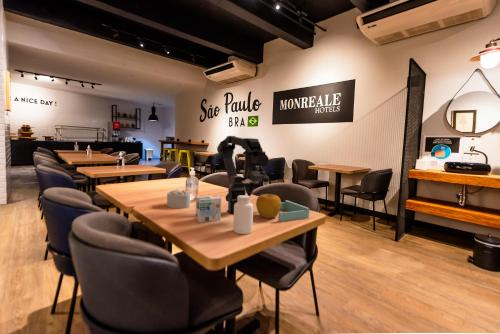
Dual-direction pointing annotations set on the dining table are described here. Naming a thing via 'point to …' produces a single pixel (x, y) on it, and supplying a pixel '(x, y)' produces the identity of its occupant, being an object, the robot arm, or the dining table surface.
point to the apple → (268, 205)
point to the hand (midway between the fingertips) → (249, 196)
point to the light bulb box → (208, 208)
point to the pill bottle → (243, 215)
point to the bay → (292, 211)
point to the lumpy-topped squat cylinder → (178, 199)
